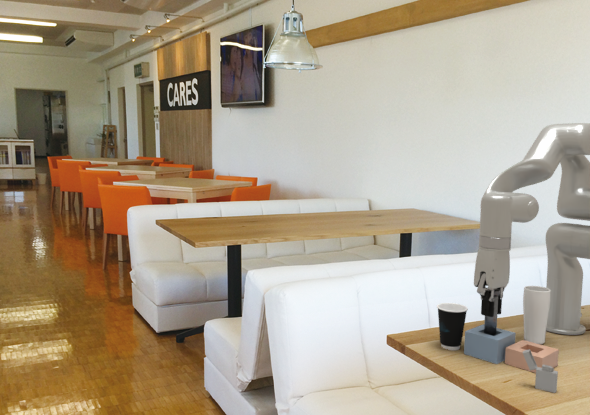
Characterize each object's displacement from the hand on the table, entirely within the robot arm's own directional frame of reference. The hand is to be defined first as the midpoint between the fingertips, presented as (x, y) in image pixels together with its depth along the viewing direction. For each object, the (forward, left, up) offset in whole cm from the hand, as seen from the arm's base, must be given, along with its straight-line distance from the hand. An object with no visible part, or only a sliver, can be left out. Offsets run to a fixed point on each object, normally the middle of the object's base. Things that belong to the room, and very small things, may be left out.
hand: (491, 313), depth 138 cm
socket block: (0, 0, -11) cm, 11 cm away
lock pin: (0, 0, -6) cm, 6 cm away
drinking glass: (-19, +3, -11) cm, 22 cm away
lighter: (+10, +17, -11) cm, 23 cm away
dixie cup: (+3, -9, -11) cm, 15 cm away
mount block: (-2, +10, -11) cm, 15 cm away
